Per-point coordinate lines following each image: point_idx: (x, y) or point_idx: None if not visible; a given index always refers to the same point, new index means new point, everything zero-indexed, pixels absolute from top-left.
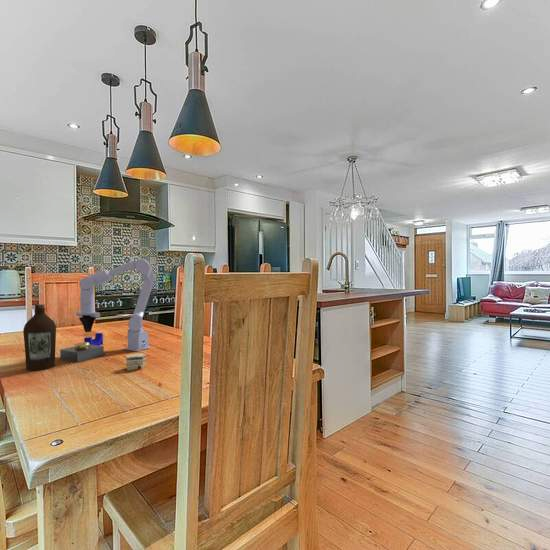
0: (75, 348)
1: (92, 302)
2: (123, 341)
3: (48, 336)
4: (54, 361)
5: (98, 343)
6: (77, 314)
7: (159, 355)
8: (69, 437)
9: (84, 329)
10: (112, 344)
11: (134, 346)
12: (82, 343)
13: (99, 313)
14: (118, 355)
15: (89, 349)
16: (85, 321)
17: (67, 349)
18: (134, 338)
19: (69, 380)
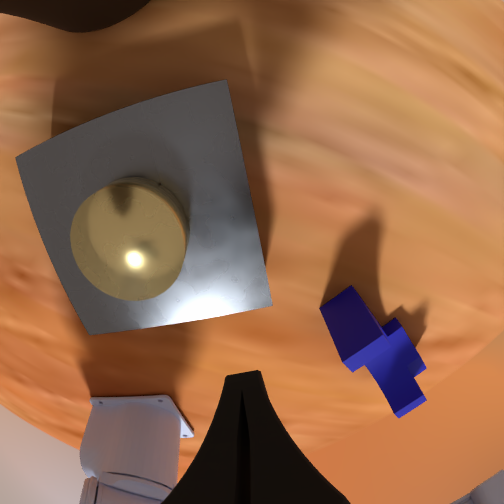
0: (126, 178)
1: None
2: (334, 427)
3: None
4: (49, 25)
5: (365, 364)
6: (482, 501)
7: (8, 389)
8: None
9: (257, 390)
10: (326, 397)
11: (110, 415)
12: (122, 249)
13: None
14: (63, 335)
15: (50, 247)
16: (186, 491)
17: (173, 124)
18: (101, 446)
19: None
